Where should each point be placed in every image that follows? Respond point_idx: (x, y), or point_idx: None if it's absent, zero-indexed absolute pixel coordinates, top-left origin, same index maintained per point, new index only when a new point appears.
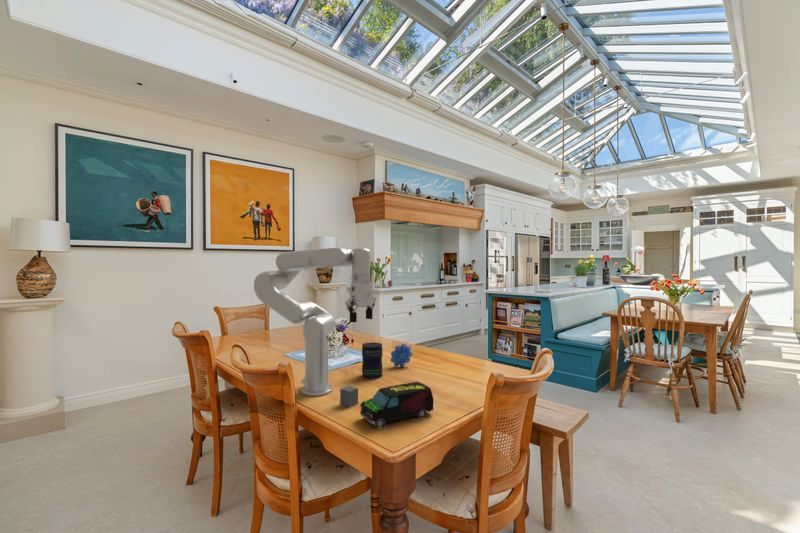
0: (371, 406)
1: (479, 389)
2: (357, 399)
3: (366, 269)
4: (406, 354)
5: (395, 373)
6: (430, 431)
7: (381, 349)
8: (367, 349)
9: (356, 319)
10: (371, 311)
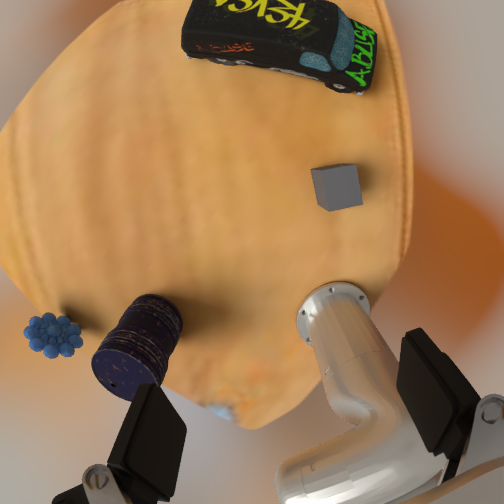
0: (367, 44)
1: (36, 81)
2: (315, 169)
3: None
4: (42, 325)
5: (97, 292)
6: None
7: (104, 342)
8: (152, 365)
9: (420, 346)
10: (127, 449)
